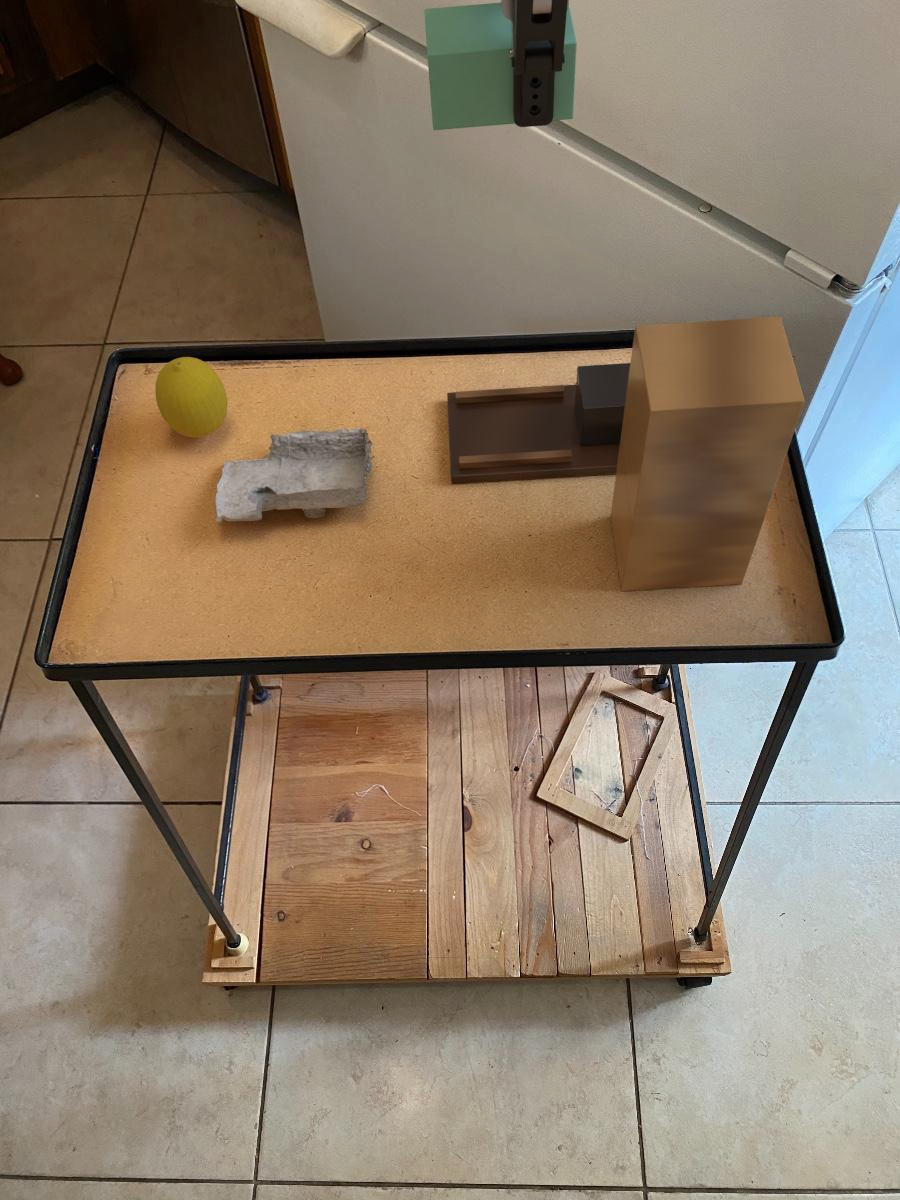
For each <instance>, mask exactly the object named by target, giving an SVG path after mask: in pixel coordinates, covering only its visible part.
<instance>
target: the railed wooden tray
mask: <svg viewBox="0 0 900 1200" xmlns="http://www.w3.org/2000/svg"><path fill="white" fill-rule="evenodd" d="M630 363H631V362H622V363H607V364H605V363H604V364H593V365H591V364H590V365H578V366H576V367H577V368H576V381H575V384H557V385H555V384H554V385H539V386H526V387H509V388H493V389H479V390H478V389H477V390H466V391H465V390H464V391H463V390H461V391H453V392H447V393H446V396H447V399H446V401H447V419H448V420H447V423H448V441H449V442H448V443H449V463H450V465H449V466H450V480H451V484H452V485H459V484H460V485H461V484H476V483H491V482H507V481H523V480H524V481H525V480H539V479H555V478H557V479H558V478H572V477H587V476H602V475H603V476H605V475H616V470H617V463H618V455H619V447H620V440H621V432H622V424H623V417H624V409H625V401H626V394H627V386H628V378H629V371H630Z"/></svg>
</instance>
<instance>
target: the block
mask: <svg viewBox="0 0 900 1200" xmlns="http://www.w3.org/2000/svg"><path fill="white" fill-rule="evenodd" d="M424 25H425V27H424V28H425V37H426V38H425V40H426V55H427V68H428V69H427V70H428V80H429V81H428V83H429V93H430V94H429V95H430V106H431V107H430V108H431V120H432V121H431V122H432V129H433V131H442V130H455V129H467V128H480V127H492V126H504V125H516V124H515V122H514V115H513V67H512V65H511V59H509V49H511V21H510V20H509V19H507V18H506V17H505V16H504V15H503V12H502V8H501V2H491V3H490V2H489V3H477V4H467V5H466V4H465V5H457V6H456V5H455V6H443V7H442V6H441V7H432V8H424ZM577 46H578V41H577V38H576V31H575V27H574V21H573V17H572V12H571V7H570V5H569V7H568V10H567V15H566V27H565V39H564V52H563V53H564V55H565V62H564V64H562V71H560V72H555V82H554V111H553V120H552V122H553V121H564V120H565V121H566V120H574V113H575V110H574V109H575V89H576V72H577V71H576V69H577V68H576V67H577V49H578V48H577Z"/></svg>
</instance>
